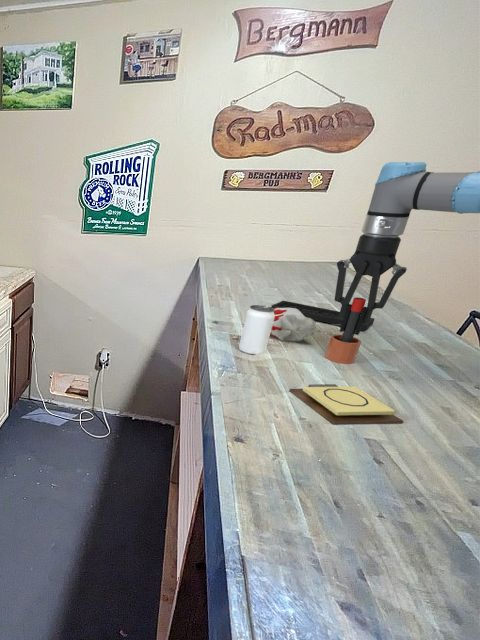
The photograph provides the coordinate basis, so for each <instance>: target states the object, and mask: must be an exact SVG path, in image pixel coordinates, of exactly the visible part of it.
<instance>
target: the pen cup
mask: <svg viewBox="0 0 480 640" xmlns="http://www.w3.org/2000/svg"><path fill="white" fill-rule="evenodd" d="M342 335H343V334H332V335H331V336H330V338H329V342H328V346H327V349H326V352H325V354H324V358H325V359H326V360H327V361H330V362H333V363H337V364H342V365H353V364H355V362H356V359H357V356H358V354H359V350H360V347H361V345H362V340H361V339H359V338H357V337H354V336H353V339H352V342H351V343H348V342H343V341H341V338H342Z"/></svg>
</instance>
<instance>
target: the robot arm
mask: <svg viewBox="0 0 480 640" xmlns="http://www.w3.org/2000/svg"><path fill="white" fill-rule="evenodd" d="M412 210H415V211H417V210H418V211H420V210H422V211H431V212H433V211H434V212H443V213H444V212H445V213H457V214H480V170H479V171H471V172H469V171H466V172H435V171H427V163H426V162H424V161H389V162H386V163H385V164H383V166H382V167H381V169H380V173H379V175H378V177H377V180H376V182H375V184H374V189H373V193H372V196H371V200H370V203H369V205H368V210H367V213H366V216H365V219H364V222H363V225H362V228H361V233H363V234H361V235H360V236H359V238H358V241H357V245H356V249H355V251H354V253H353V254H352V255H351V256H350V257H349V258H347V259H340V260H339V261H337V262H336V267H337V270H338V274H337V279H336V287H335V292H334V293H335V294H334V302H338V303H340V305H341V307H340V309H339V312H340V313H339V317H341V318H343V321H342V324H341V326H340V328H339V332H340V333H343V332H344V329H345V326H346V323H347V320H348V316H349V313H350V309H351V305H352V303H350V302H351V301H352V298H354V294H355V293H356V290H357V288H358V287H359V284H360V282H361V280H362V278H363V276H368V277H371V283H370V288H369V294H368V300H367V305H366V306H364V308H363V309H362V312H361V315H360V318H359V321H358V324H357V327H356V330H355V333H354V336H355V335H356V336H358V335H359V334H360V332H361V331H362V330H361V327H362V324H363V321H364V322H368V321H369V320H370V318H372V314H373V312H374V310H377V309H383V308H384V307H385V306H386V304H387V302H388V300H389V298H390V296H391V294H392V292H393V290H394V288H395V287H396V285H397V283H398V281H399V279H400V278H401V277H402V276H403V275H405V273H406V272H407V271H408V268H407V267H405V266H402V265H400V264H398V263H397V259H396V256H397V253H398V250H399V247H400V244H401V241H402V238H401V237H400V236H402V235H404V232H405V230H406V226H407V224H408V221H409V218H410V215H411V212H412ZM350 264H351V265H352V267H353V269H354V271H355V275H354V277H353V279H352V281H351V283H350V285H349V288H348V290H347V292H346V295H345V296H343V294H344V289H345V282H346V276H347V269H348V268H349V267H350ZM390 269H392V271H391V274H392V277H391V278H390V280H389V282H388V284H387V286H386V288H385V290H384V292H383V294H382V295H381V298H380V299H379V301H377V295H378V290H379V285H380V281H381V276H382V275H383V274H385V273H386V272H387V271H389V270H390Z"/></svg>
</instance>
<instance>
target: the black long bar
mask: <svg viewBox="0 0 480 640" xmlns="http://www.w3.org/2000/svg"><path fill="white" fill-rule="evenodd" d="M270 307H271V308H273V309H274V308H277V307H278V308H296V309H298V310H299V311H300V312H301V313H302V314H303V315H304V316H305V317H307V318H311V319H312V320H314V321H318V322H322V323H326V324H328V326H340V327H341V324H342V321H343V318H341V317H339V313H340V310H334V309H331V307H329V308H323V307H318V306H313V305H310V304H309V305H308V304H303V303H298V302H293V301H287V300H281V301H278V302H276V303H274V304H271V306H270ZM374 322H375V318H374V317H371V318H370V320H369V321H368V322H364V321H363V324H362V327H361V330H360V331H367V329H369V328H370V327H371V326H372V325H374ZM326 324H323V327H324V326H326ZM315 326H316V327H320V325H319V324H318V325H317V324H316V325H315Z"/></svg>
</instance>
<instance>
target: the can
mask: <svg viewBox="0 0 480 640" xmlns="http://www.w3.org/2000/svg"><path fill="white" fill-rule="evenodd" d="M271 307H272V306H267V305H262V304H252V305H250V306H249V309H248V310H247V311H246V315H245V319H244V322H243V327H242V331H241V336H240V340H239V344H238V349H239V351H240V352H242V353H244V354H248V355H251V356H256V355H262V354H265V353H266V351H267V348H268V343H269V340H270V337H271V336H270V333H271V329H272V325H273V321H274V317H275V314H274V309H273V308H271Z"/></svg>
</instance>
